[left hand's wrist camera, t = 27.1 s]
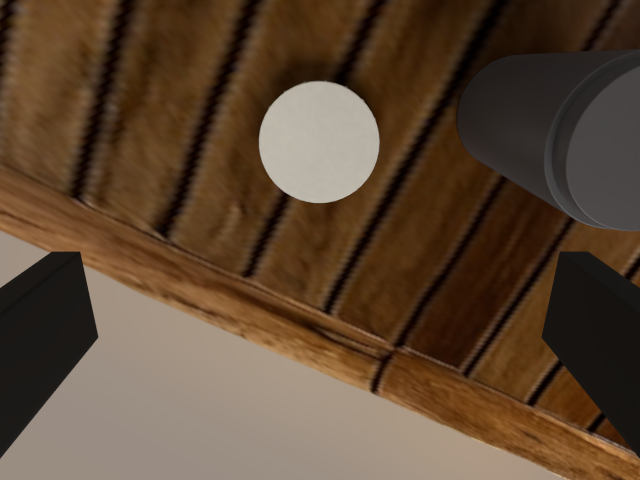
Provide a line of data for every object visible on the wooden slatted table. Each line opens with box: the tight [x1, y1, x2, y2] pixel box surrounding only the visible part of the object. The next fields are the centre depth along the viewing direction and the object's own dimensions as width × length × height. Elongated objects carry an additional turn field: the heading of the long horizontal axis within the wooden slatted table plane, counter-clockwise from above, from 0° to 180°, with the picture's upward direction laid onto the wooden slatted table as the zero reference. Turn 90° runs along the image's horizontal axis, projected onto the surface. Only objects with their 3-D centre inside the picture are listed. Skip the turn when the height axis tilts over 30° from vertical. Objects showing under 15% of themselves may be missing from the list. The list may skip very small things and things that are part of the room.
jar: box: [457, 49, 640, 231], centre depth 30 cm, size 9×9×18 cm
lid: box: [259, 80, 380, 203], centre depth 38 cm, size 10×10×2 cm
